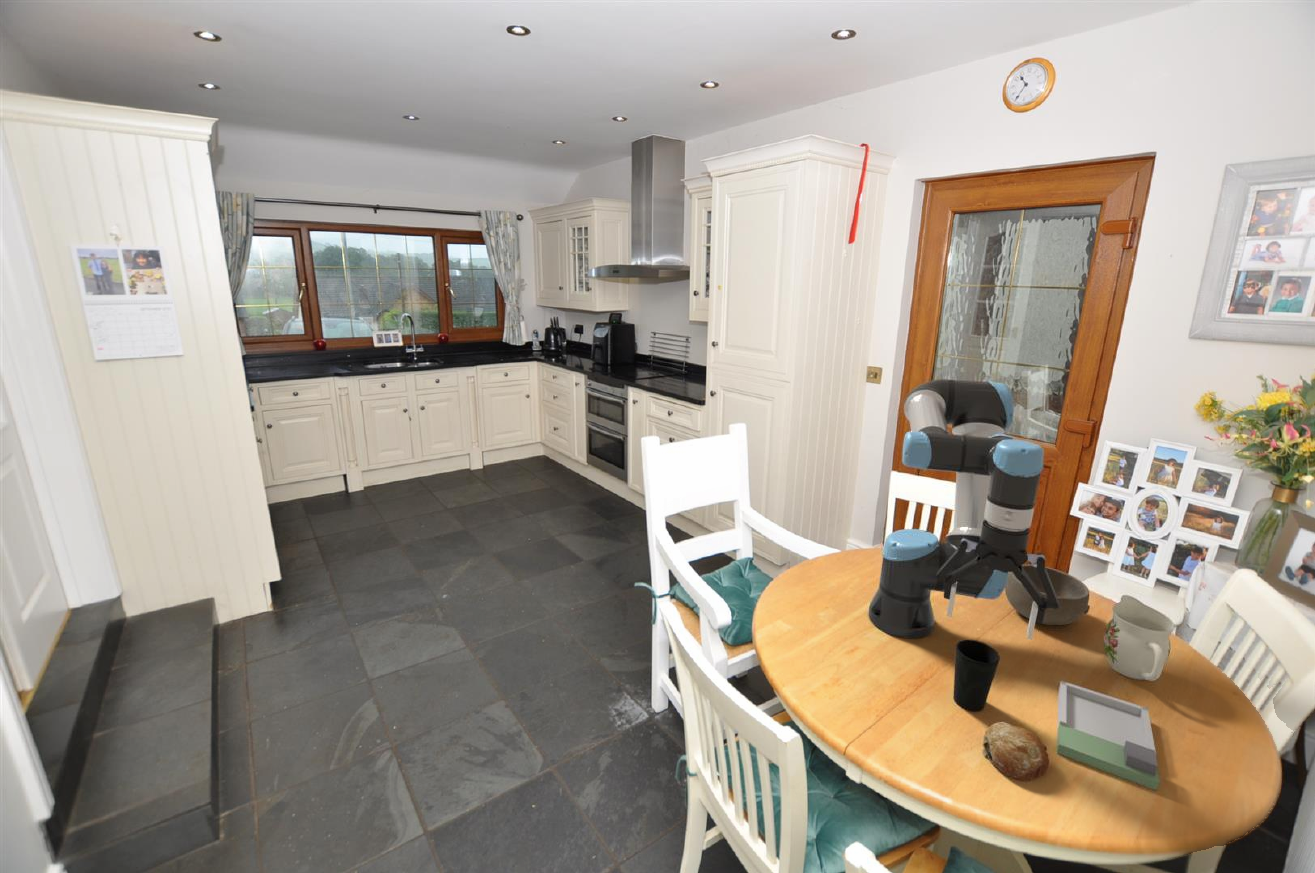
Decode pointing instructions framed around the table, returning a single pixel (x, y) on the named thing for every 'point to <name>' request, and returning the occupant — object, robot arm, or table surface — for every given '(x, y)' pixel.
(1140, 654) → the pitcher
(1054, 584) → the bowl
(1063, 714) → the green and grey tray
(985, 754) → the bread roll
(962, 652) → the cup
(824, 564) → the table surface
